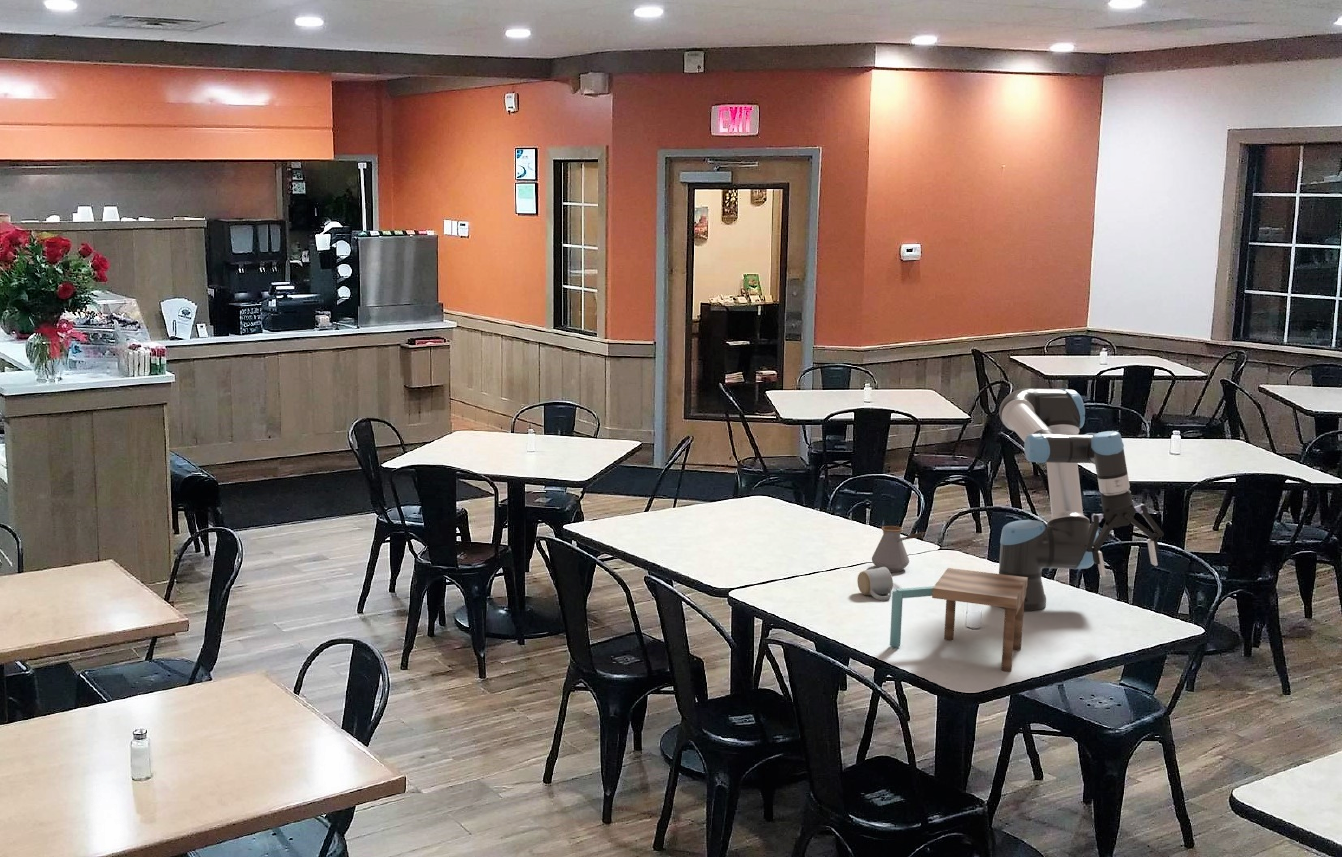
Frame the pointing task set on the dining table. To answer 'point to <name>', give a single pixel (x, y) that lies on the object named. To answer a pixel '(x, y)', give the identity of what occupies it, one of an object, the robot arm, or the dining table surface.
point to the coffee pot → (892, 549)
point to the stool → (985, 602)
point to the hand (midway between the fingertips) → (1128, 569)
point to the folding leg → (897, 609)
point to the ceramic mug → (876, 583)
